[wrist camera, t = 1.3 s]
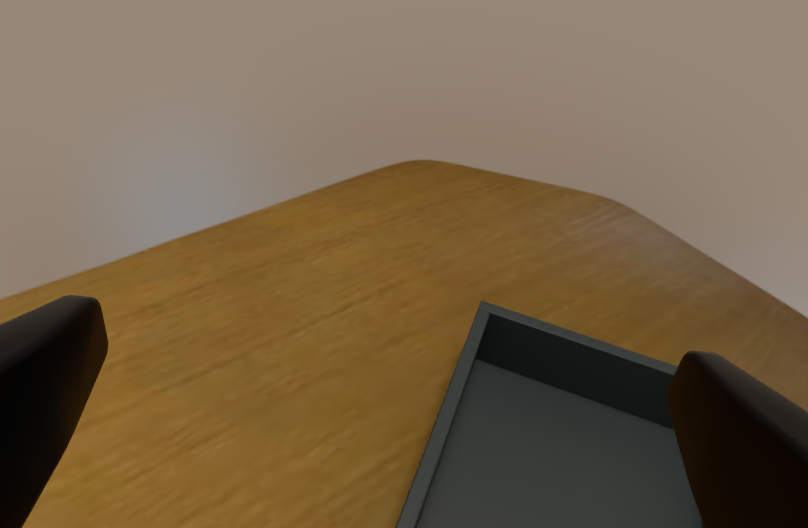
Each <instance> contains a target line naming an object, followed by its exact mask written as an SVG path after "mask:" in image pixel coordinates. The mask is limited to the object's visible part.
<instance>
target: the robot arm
mask: <svg viewBox="0 0 808 528" xmlns="http://www.w3.org/2000/svg"><path fill="white" fill-rule="evenodd" d="M107 351H108V338H107V334H106V329H105V324H104V319H103V314H102V309H101V306H100V303H99V302H98V300H96V299H95V298H93V297H84V296H73V295H68V296H64V297H61V298H59V299H57V300H55V301H53V302H50V303H48V304H46V305H44V306H41V307H39V308H37V309H35V310H32V311H30V312H28V313H26V314H23V315H21V316H19V317H17V318H14V319H12V320H10V321H8V322H5V323H3V324H1V325H0V528H22V527H23V525H24V523H25V521H26V519H27V518H28V516H29V514H30V512H31V511H32V509H33V507H34V505H35V504H36V502H37V500H38V498H39V497H40V495H41V493H42V491H43V489H44V488H45V486H46V484H47V482H48V481H49V479H50V477H51V475H52V474H53V472H54V470H55V468H56V466H57V465H58V463H59V461H60V459H61V457H62V456H63V454H64V452H65V450H66V448H67V446H68V444H69V442H70V440H71V437H72V435H73V433H74V431H75V429H76V426H77V424H78V422H79V419H80V417H81V415H82V412H83V410H84V407H85V405H86V403H87V400H88V398H89V396H90V393H91V391H92V389H93V386H94V384H95V382H96V379H97V377H98V375H99V372H100V370H101V368H102V365H103V363H104V361H105V358H106V355H107ZM666 400H667V406H668V410H669V414H670V417H671V421H672V424H673V428H674V432H675V435H676V439H677V442H678V446H679V450H680V453H681V457H682V460H683V464H684V468H685V471H686V475H687V478H688V482H689V485H690V488H691V491H692V494H693V497H694V500H695V503H696V505H697V508H698V511H699V513H700V516H701V518H702V521H703V523H704V526H705V528H808V412H807V411H806V410H804V409H803V408H801V407H800V406H798V405H796V404H795V403H793V402H792V401H790V400H789V399H787V398H785V397H784V396H782V395H781V394H779V393H778V392H776V391H775V390H773V389H771V388H770V387H768V386H767V385H765V384H764V383H762V382H760V381H759V380H757V379H756V378H754V377H753V376H751V375H750V374H748V373H746V372H745V371H743V370H742V369H740V368H739V367H737V366H735V365H734V364H732V363H731V362H729V361H728V360H726V359H725V358H723V357H721V356H720V355H718V354H716V353H712V352H701V351H690V352H687V353H686V354H685V355H684V356H683V358H682V360H681V362H680V364H679V366H678V368H677V370H676V372H675V374H674V376H673V378H672V380H671V383H670V385H669V387H668V390H667V395H666Z"/></svg>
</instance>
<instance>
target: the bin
mask: <svg viewBox="0 0 808 528" xmlns="http://www.w3.org/2000/svg"><path fill="white" fill-rule="evenodd" d="M677 368H678V367H677V366H674V365H671V364H668V363H665V362H662V361H659V360H656V359H653V358H650V357H647V356H644V355H641V354H638V353H635V352H632V351H629V350H627V349H624V348H621V347H618V346H615V345H612V344H609V343H606V342H603V341H600V340H597V339H594V338H591V337H588V336H585V335H582V334H579V333H576V332H573V331H570V330H567V329H564V328H561V327H558V326H555V325H552V324H549V323H546V322H543V321H540V320H537V319H534V318H532V317H529V316H526V315H523V314H520V313H517V312H514V311H511V310H508V309H505V308H502V307H499V306H496V305H493V304H490V303H487V302H484V301H481V303H480V305H479V308H478V311H477V313H476V316H475V319H474V321H473V324H472V327H471V329H470V332H469V334H468V337H467V340H466V342H465V345H464V348H463V350H462V353H461V356H460V358H459V361H458V364H457V366H456V369H455V371H454V374H453V377H452V379H451V382H450V385H449V387H448V390H447V393H446V395H445V398H444V401H443V403H442V406H441V408H440V411H439V414H438V416H437V419H436V422H435V424H434V427H433V430H432V432H431V435H430V438H429V440H428V443H427V445H426V448H425V451H424V453H423V456H422V459H421V461H420V464H419V467H418V469H417V472H416V475H415V477H414V480H413V482H412V485H411V488H410V490H409V493H408V496H407V498H406V501H405V504H404V506H403V509H402V512H401V514H400V517H399V519H398V522H397V525H396V527H395V528H705V526H704V523H703V521H702V518H701V516H700V513H699V511H698V508H697V505H696V503H695V500H694V497H693V494H692V491H691V488H690V485H689V482H688V478H687V475H686V471H685V468H684V464H683V460H682V457H681V453H680V450H679V446H678V442H677V439H676V435H675V432H674V428H673V424H672V421H671V417H670V414H669V410H668V406H667V400H666V395H667V390H668V387H669V385H670V383H671V380H672V378H673V376H674V374H675V372H676V370H677Z"/></svg>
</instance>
